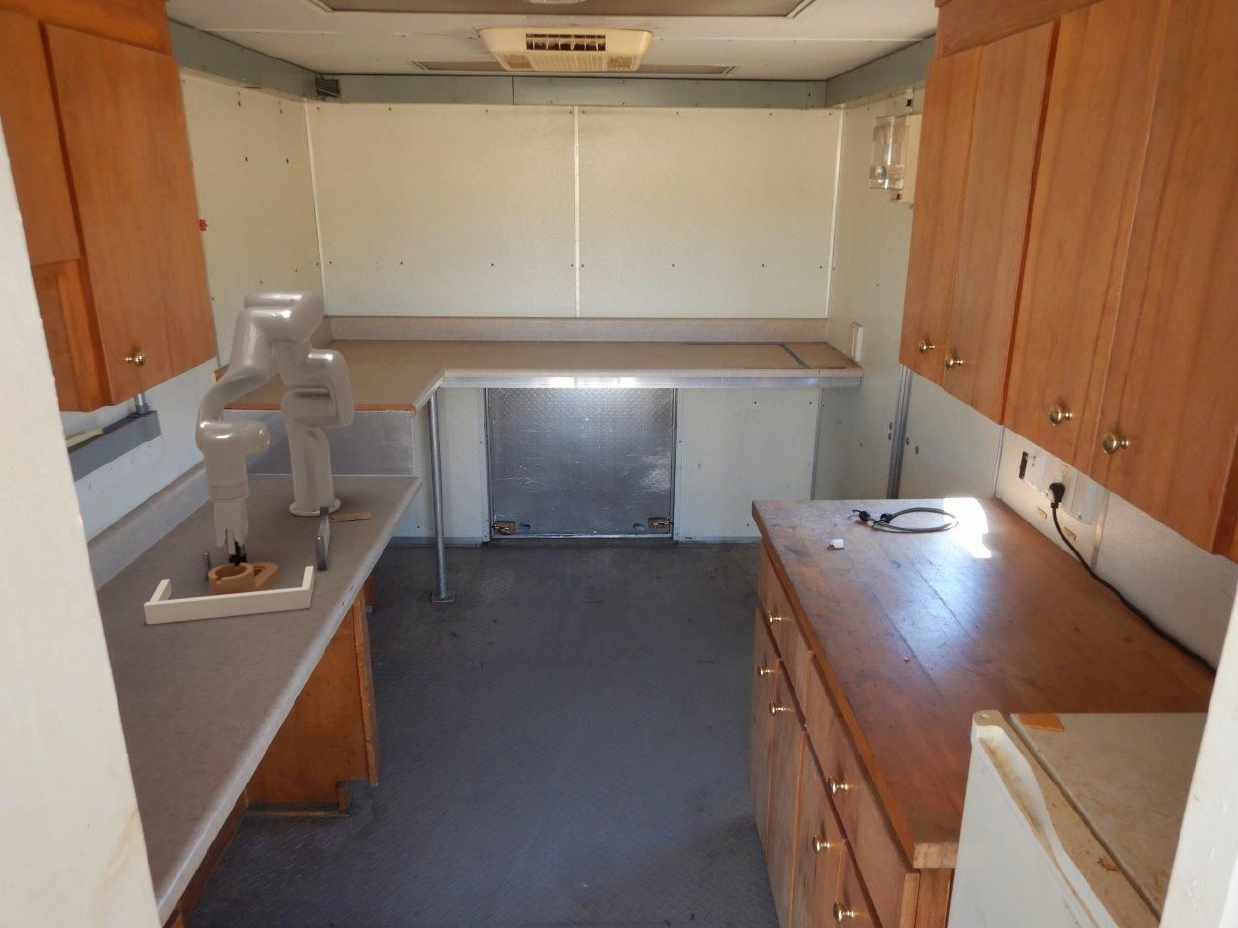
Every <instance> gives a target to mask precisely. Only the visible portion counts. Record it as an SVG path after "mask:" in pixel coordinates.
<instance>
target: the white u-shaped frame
mask: <svg viewBox="0 0 1238 928" xmlns="http://www.w3.org/2000/svg"><path fill="white" fill-rule="evenodd" d="M315 579H316V578H315V569H314V565H311V566H305V569H304V575H303V580H302V585H301V586H300V587H289V588H288V587H287V588H280V589H268V590H267V591H257V592H246V593H236V594H226V595H215V596H211V595H207V596H206V595H205V596H198V597H197V596H196V597H185V598H177V599H176V598H175V599H169V598H170V597H171V595H172V593H173V591H172V585H171V579H170V578H167V579H162V580H160V581H159V582H160V583H159V584H158V585H157V587H156V590H155V591H154V593H153V595H152V597H151V598H150V600H149V601H146V602H145V603H144V604H143V609H144V614H145V620H146V625H157V624H158V625H159V624H167V623H177V622H188V621H197V620H205V619H207V620H208V619H216V618H224V617H235V616H245V615H246V616H247V615H253V614H262V613H274V612H284V611H295V610H301V609H302V610H303V609H310V607H311V604H312V603H311V602H312V597H313V591H314V585H315Z"/></svg>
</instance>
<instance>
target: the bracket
mask: <svg viewBox="0 0 1238 928" xmlns="http://www.w3.org/2000/svg"><path fill="white" fill-rule="evenodd" d="M208 577H209V580H208V584H209V589H210V590H209V591H210V596H215V595H226V594H236V593H246V592H257V591H267V590H271V588H272V587H273V586H274V585H275V584H276V583H277V582H278V581H279V578H280V576H279V569H278V565H277V564H275V563H273V562H270V561H258V562H257V561H256V562H252V563H248V562H247V563H240V564H239V566H235V563H229V562H227V563H225V564H221V565H218V566H216V567H214V568H213V567H212V570H210V571H209V573H208Z"/></svg>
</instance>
